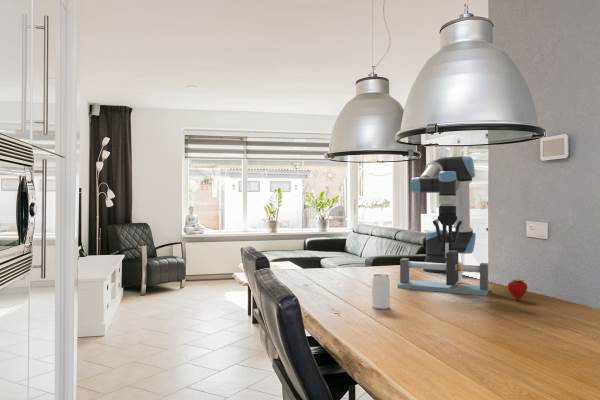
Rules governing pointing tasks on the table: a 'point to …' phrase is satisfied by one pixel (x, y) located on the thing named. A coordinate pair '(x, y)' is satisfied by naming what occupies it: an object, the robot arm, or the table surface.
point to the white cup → (459, 274)
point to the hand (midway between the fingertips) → (447, 257)
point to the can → (380, 291)
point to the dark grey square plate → (451, 267)
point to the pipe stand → (438, 286)
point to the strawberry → (517, 288)
